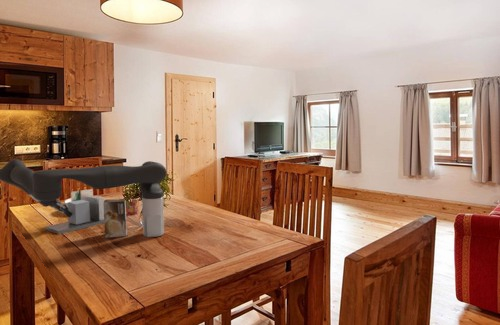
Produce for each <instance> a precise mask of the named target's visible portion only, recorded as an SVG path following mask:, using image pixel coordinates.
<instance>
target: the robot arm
mask: <svg viewBox="0 0 500 325" xmlns="http://www.w3.org/2000/svg"><path fill="white" fill-rule="evenodd" d="M166 177H167V168H166V167H165V166H164V164H162V163H160V162H157V161H156V162H155V161H145V162H143V163H142V164H141V165H139V166H137V165H136V166H129V165H128V166H127V165H102V166H100V165H99V166H92V167H83V168H62V169H61V168H59V169H58V168H57V169H54V168H53V169H40V170H36V171H34V170H33V169H32V168H28V167H27V166H26V164H25V163H24V162H23V161H22V160H20V159H18V158H13V159H10V160H9V161H8V162H7V163H6V164H5V165H4V166H3V167H1V169H0V181H2V182H3V183H6V184H9V185H12V186H15V187H16V188H18V189H20V190H21V191H23V192H24V193H26V194H27V195H28V196H29V197H30V198H32V199H33V200H34V201H36V202H37V203H38V204H40V205H41V206H43V207H45V208H46V207H50V208H52V209H54V210H55V211H57V212H60V213H61V214H64V216H66V217H67V218H68V217H71V216H72V213H71V212H70V211H68V207H67V206H66V205H65V203H63V202H62V201H61V200H59V199H60V198H61V197H62V192H63V190H62V186H63V185H62V179H68V180H74V181H77V182H80V183H81V184H83V185H86V186H88V187H90V188H91V189H96V190H106V189H107V190H108V189H113V188H119V187H125V186H126V185H131V184H135V185H137V184H139V191H140V192H141V199H142V201H141V203H142V205H141V206H142V209H141V210H142V211H141V212H142V235H143V237H146V238H154V237H155V238H156V237H162V235H164V234H165V233H164V232H165V230H164V229H165V225H164V222H165V220H164V217H165V216H164V191H163V189H162V188H161V186H160V183H161V182H162V181H164V180H165V178H166Z"/></svg>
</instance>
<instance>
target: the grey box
mask: <svg viewBox="0 0 500 325" xmlns="http://www.w3.org/2000/svg"><path fill="white" fill-rule="evenodd" d="M78 191H79V200H78V201H72V202H68V211H70V212H71V213H72V216H71V217H67V219H68V220H67V222H69V223H72V224H76V225H77V224H81V223H85V222H90V210H89V201H84V200H81V191H82V190H80V189H78Z"/></svg>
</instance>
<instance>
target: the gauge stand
mask: <svg viewBox="0 0 500 325" xmlns="http://www.w3.org/2000/svg"><path fill="white" fill-rule="evenodd" d="M96 196H97V195H94V188H90V189H83V190H81V200H84V201H89V210H90V222H85V223H81V224H77V225H76V224H72V223H69V222H68V221H65V222H60V223H55V224H49V225H46V226H44V230H45V231H48V232H51V233H54V234H57V235H62V234H65V233H70V232H74V231H78V230H81V229H85V228H90V227H94V226H98V225H101V224H104V198H105V197H104V198H101V197H102V196H101V197H96ZM70 198H71V202H72V201H78V200H79V190H75V191H70Z"/></svg>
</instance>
